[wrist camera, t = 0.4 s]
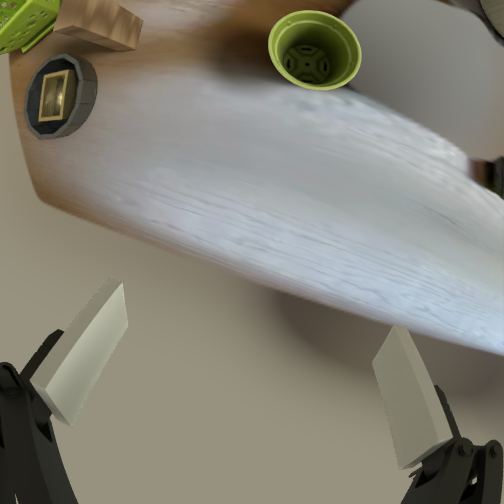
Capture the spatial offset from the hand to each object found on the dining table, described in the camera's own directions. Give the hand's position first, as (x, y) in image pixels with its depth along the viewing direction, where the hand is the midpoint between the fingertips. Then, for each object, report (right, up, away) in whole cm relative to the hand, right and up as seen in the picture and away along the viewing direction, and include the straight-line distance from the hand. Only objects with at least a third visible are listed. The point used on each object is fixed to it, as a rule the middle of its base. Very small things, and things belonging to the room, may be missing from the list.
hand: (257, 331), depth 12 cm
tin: (-30, +28, +18) cm, 45 cm away
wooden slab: (-18, +34, +15) cm, 41 cm away
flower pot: (-37, +46, +11) cm, 60 cm away
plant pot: (+7, +27, +16) cm, 33 cm away
